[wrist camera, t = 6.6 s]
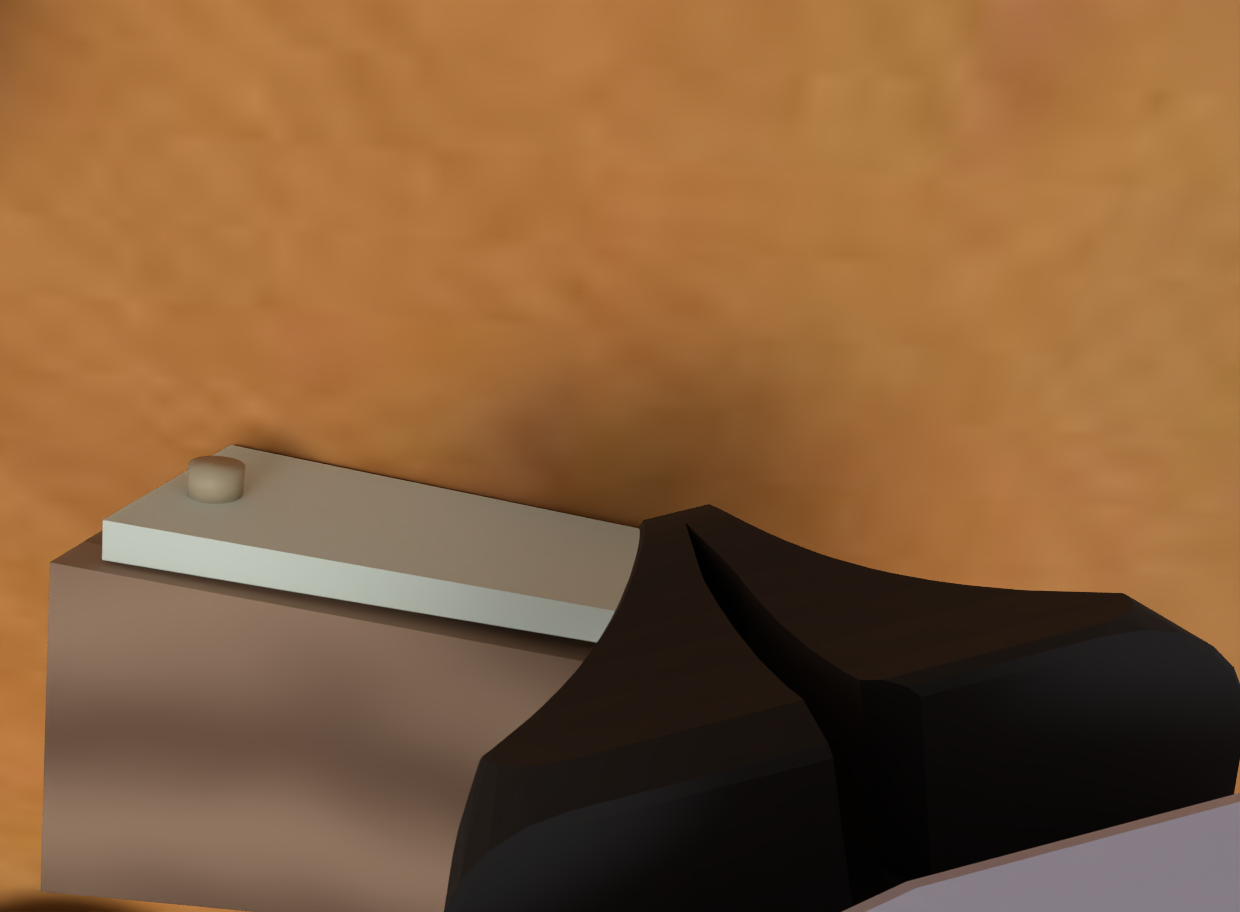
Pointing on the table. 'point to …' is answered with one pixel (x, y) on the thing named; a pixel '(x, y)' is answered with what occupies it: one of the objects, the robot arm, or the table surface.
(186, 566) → the cabinet door
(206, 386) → the table surface
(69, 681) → the walnut cabinet
